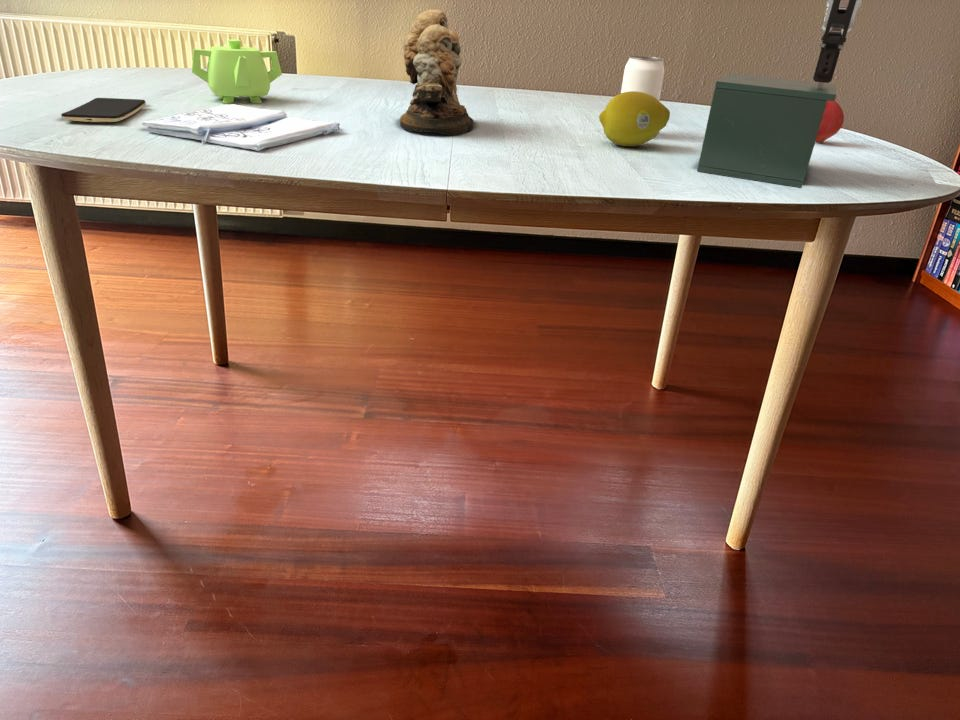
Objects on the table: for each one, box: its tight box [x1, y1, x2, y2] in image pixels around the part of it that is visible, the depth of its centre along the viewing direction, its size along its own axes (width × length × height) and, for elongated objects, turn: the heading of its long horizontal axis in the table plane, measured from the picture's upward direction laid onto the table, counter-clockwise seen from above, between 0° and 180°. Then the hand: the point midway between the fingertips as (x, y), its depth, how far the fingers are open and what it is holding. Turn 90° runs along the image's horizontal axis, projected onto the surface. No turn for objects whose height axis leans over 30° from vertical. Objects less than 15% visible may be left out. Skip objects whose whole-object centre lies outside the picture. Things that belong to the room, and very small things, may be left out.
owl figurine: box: [399, 8, 474, 136], centre depth 107 cm, size 18×12×17 cm, turn 178°
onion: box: [815, 96, 845, 144], centre depth 118 cm, size 6×6×8 cm
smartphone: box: [60, 97, 147, 123], centre depth 102 cm, size 7×1×15 cm
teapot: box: [191, 38, 283, 104], centre depth 119 cm, size 12×12×10 cm
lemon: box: [598, 91, 671, 147], centre depth 105 cm, size 11×8×8 cm
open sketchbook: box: [141, 103, 341, 152], centre depth 97 cm, size 19×20×2 cm
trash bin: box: [696, 87, 827, 188], centre depth 95 cm, size 14×14×11 cm
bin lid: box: [714, 72, 837, 101], centre depth 91 cm, size 14×14×5 cm
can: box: [620, 55, 665, 102], centre depth 114 cm, size 6×6×12 cm
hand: (822, 79), depth 89 cm, fingers closed on bin lid, 5 cm apart
